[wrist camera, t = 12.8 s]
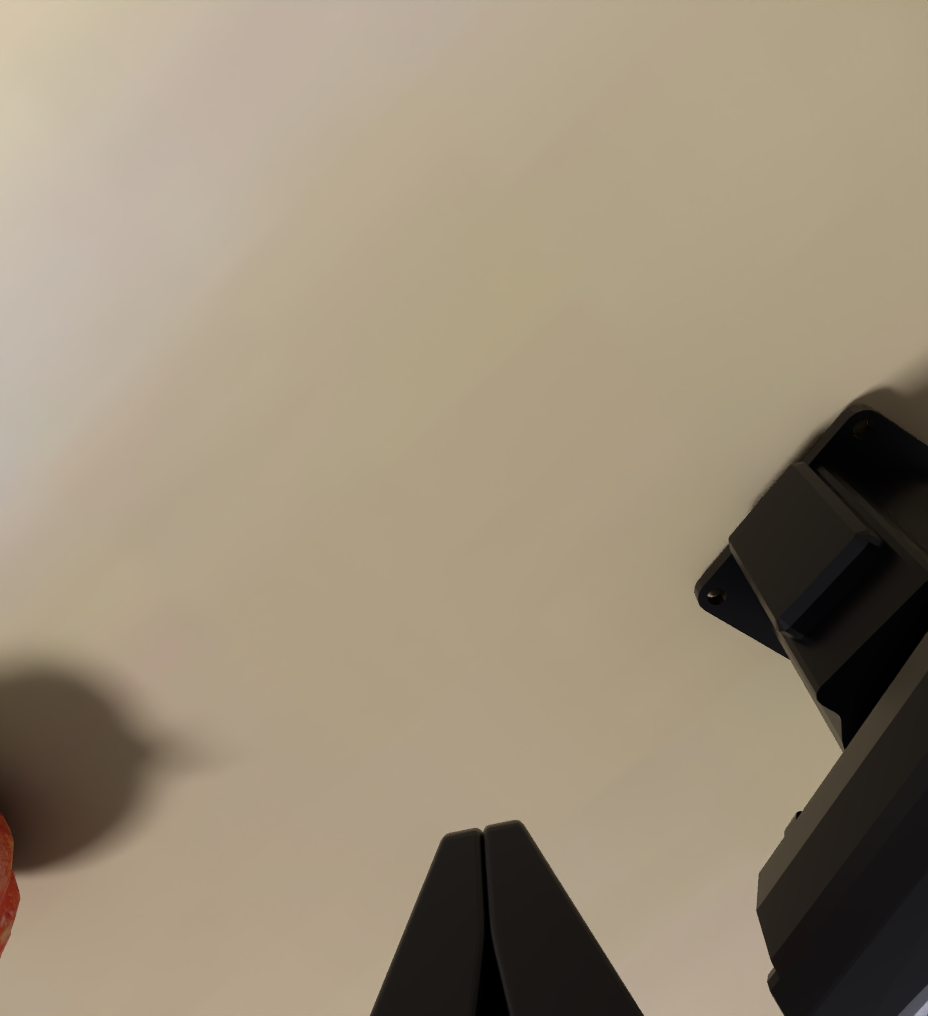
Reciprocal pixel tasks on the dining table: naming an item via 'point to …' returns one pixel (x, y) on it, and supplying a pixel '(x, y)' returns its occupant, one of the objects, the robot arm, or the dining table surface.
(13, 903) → the pomegranate
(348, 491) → the dining table surface
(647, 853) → the dining table surface
